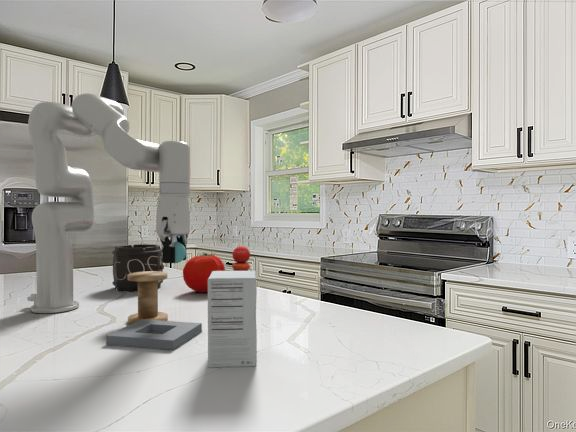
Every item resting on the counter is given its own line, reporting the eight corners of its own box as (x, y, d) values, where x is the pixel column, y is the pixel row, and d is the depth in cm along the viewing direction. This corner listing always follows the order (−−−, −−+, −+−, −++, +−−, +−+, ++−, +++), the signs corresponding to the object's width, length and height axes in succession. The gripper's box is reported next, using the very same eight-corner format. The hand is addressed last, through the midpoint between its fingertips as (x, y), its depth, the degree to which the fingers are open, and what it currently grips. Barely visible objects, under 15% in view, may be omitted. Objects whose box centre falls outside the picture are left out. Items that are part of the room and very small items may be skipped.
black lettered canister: (155, 292, 152) (155, 248, 152) (104, 292, 152) (104, 248, 152) (170, 283, 170) (170, 244, 170) (124, 283, 170) (124, 244, 170)
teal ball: (159, 264, 108) (159, 242, 108) (170, 261, 113) (170, 240, 113) (180, 264, 107) (179, 242, 107) (189, 262, 112) (189, 241, 112)
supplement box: (211, 351, 89) (211, 270, 89) (256, 350, 90) (256, 269, 90) (207, 368, 80) (206, 277, 80) (257, 366, 81) (256, 277, 80)
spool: (119, 324, 110) (119, 276, 110) (141, 315, 120) (141, 270, 120) (155, 327, 108) (154, 277, 108) (174, 317, 117) (174, 271, 117)
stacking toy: (249, 314, 120) (249, 247, 120) (222, 313, 122) (222, 247, 121) (257, 308, 128) (257, 245, 127) (231, 307, 129) (231, 244, 129)
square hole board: (106, 344, 94) (106, 335, 94) (142, 327, 107) (142, 319, 107) (173, 350, 90) (173, 340, 90) (201, 331, 104) (201, 323, 104)
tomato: (217, 287, 163) (217, 250, 163) (232, 293, 151) (232, 254, 151) (176, 291, 155) (176, 253, 155) (188, 297, 143) (188, 256, 143)
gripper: (176, 191, 119) (176, 257, 119) (143, 189, 102) (143, 265, 103) (202, 191, 117) (202, 258, 118) (172, 188, 101) (172, 266, 101)
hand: (174, 260), depth 110 cm, fingers closed on teal ball, 5 cm apart
